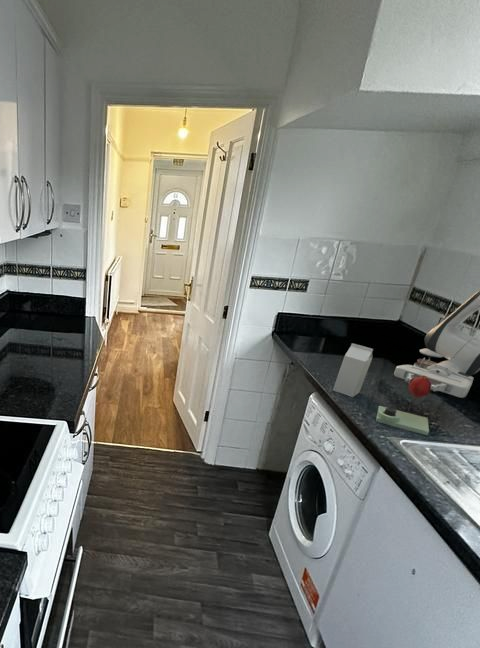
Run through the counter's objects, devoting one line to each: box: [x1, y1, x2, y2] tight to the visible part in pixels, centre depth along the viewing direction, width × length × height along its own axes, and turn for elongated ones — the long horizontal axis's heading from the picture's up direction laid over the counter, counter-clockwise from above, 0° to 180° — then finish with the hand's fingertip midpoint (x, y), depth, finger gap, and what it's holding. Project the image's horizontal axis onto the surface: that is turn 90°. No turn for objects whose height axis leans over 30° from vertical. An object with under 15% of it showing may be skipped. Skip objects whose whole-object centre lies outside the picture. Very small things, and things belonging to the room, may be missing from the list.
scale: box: [375, 405, 430, 436], centre depth 137 cm, size 14×12×3 cm
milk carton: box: [332, 343, 374, 398], centre depth 153 cm, size 7×7×19 cm
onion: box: [408, 375, 432, 399], centre depth 133 cm, size 6×6×8 cm
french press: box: [413, 348, 444, 369], centre depth 164 cm, size 10×12×25 cm
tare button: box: [384, 407, 397, 416], centre depth 136 cm, size 3×3×2 cm
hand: (420, 384), depth 132 cm, fingers closed on onion, 5 cm apart
